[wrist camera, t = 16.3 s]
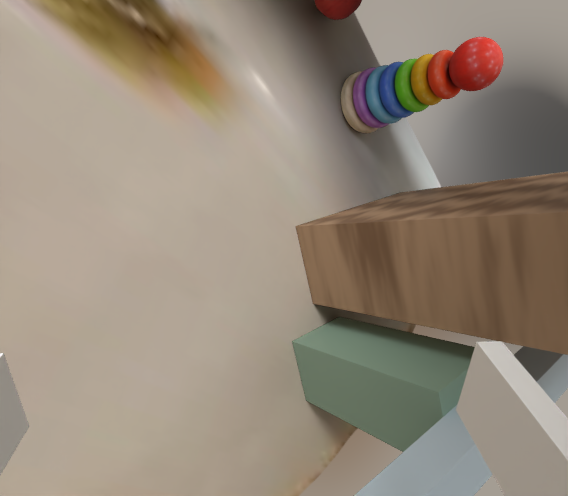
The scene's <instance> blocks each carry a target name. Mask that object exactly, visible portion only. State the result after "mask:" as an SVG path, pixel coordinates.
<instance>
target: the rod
mask: <svg viewBox="0 0 568 496" xmlns="http://www.w3.org/2000/svg"><path fill="white" fill-rule="evenodd" d="M514 356H515V358H516V359H517V360H518V361H519V362H520V363H521V365H522V366H523V367H524V368H525V369H526V370H527V372H528V373H529V374H530V375H531V376H532V377H533V379H534V380H535V381H536V382H537V383H538V384H539V386H540V387H541V388H542V389H543V390H544V391H545V393H546V394H547V395H548V396H549V397H550V398H551V400H552V401H553V402H554V403H555V402H556V401H557V400H558V399H559V398H560V396H561V395H562V394H563V393H564V392H565V391H566V390H567V388H568V355H565V354H560V353H556V352H551V351H546V350H541V349H536V348H531V347H526V346H523V347H522V348H521V349H520V350H519V351H518V352H517V353H515V354H514ZM457 405H458V404H457ZM457 405H456V406H455V407H454V408H453V409H452V410H451V411H449V412H448V413H447V414H446V415H445V416H444V417H443V418H441V419H440V420H439V421H438V422H437V423H436V424H435V425H434V426H432V427H431V428H430V429H429V430H428V431H427V432H426V433H424V434H423V435H422V436H421V437H420V438H419V439H418V440H416V441H415V442H414V443H413V444H412V445H411V446H410V447H409V448H407V449H406V450H405V451H404V452H403V453H402V454H401V455H399V456H398V457H397V458H396V459H395V460H394V461H393V462H392V463H390V464H389V465H388V466H387V467H386V468H385V469H384V470H382V471H381V472H380V473H379V474H378V475H377V476H376V477H375V478H373V479H372V480H371V481H370V482H369V483H368V484H367V485H365V486H364V487H363V488H362V489H361V490H360V491H359V492H357V493H356V494H355V495H354V496H474V495H475V494H476V493H477V492H478V490H479V489H480V488H481V487H482V486H483V485H484V483H485V482H486V481H487V480H488V479H489V478H490V477H491V475H492V473H491V471H490V469H489V467H488V466H487V464H486V462H485V460H484V459H483V457H482V455H481V453H480V452H479V450H478V448H477V446H476V445H475V443H474V441H473V439H472V437H471V436H470V434H469V432H468V430H467V429H466V427H465V425H464V423H463V422H462V420H461V418H460V416H459V415H458V413H457V411H456V408H457Z"/></svg>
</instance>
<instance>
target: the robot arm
mask: <svg viewBox="0 0 568 496" xmlns="http://www.w3.org/2000/svg"><path fill="white" fill-rule="evenodd" d="M456 411H457V413H458V415H459V416H460V418H461V420H462V422H463V423H464V425H465V427H466V429H467V430H468V432H469V434H470V436H471V437H472V439H473V441H474V443H475V445H476V446H477V448H478V450H479V452H480V453H481V455H482V457H483V459H484V460H485V462H486V464H487V466H488V467H489V469H490V471H491V473H492V475H493V476H494V478H495V480H496V481H497V483H498V485H499V487H500V489H501V490H502V492H503V494H504V496H568V418H567V417H566V416H565V415H564V414H563V413H562V411H561V410H560V409H559V408H558V407H557V405H556V404H555V403H554V402H553V401H552V400H551V398H550V397H549V396H548V395H547V394H546V393H545V391H544V390H543V389H542V388H541V387H540V386H539V384H538V383H537V382H536V381H535V380H534V379H533V377H532V376H531V375H530V374H529V373H528V372H527V370H526V369H525V368H524V367H523V366H522V365H521V363H520V362H519V361H518V360H517V359H516V358H515V356H514V355H513V354H512V353H511V352H510V351H509V349H508V348H507V347H506V346H505V345H504V344H503V342H502V341H493V342H492V341H491V342H476V345H475V348H474V352H473V355H472V358H471V362H470V365H469V368H468V372H467V375H466V378H465V381H464V385H463V388H462V391H461V395H460V398H459V401H458V405H457V408H456ZM28 428H29V423H28V421H27V418H26V415H25V412H24V409H23V407H22V404H21V401H20V398H19V395H18V392H17V390H16V387H15V384H14V381H13V378H12V375H11V373H10V370H9V367H8V364H7V361H6V359H5V356H4V353H0V475H1V473H2V471H3V470H4V468H5V466H6V465H7V463H8V461H9V460H10V458H11V456H12V455H13V453H14V451H15V450H16V448H17V446H18V444H19V443H20V441H21V439H22V438H23V436H24V434H25V433H26V431H27V429H28Z"/></svg>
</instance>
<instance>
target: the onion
mask: <svg viewBox="0 0 568 496" xmlns="http://www.w3.org/2000/svg"><path fill="white" fill-rule="evenodd" d="M361 1H362V0H315V4H316V7H317V9H318V10H319V11H320V12H322V13H323V14H324V15H325V16H326V17H328V18H330V19H334V20H339V19H344V18H347V17H348V16H349V15H351V14H352V13H353V12H354V11H355V10H356V9H357V8H358V7H359V5H360V3H361Z"/></svg>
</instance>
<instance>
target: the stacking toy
mask: <svg viewBox="0 0 568 496" xmlns="http://www.w3.org/2000/svg"><path fill="white" fill-rule="evenodd" d="M502 65H503V53H502V50H501V48H500V47H499V45H498V44H497V43H496V42H495V41H493V40H492V39H489V38H486V37H476V38H472V39H469V40H467V41H466V42H464V43H463V44H461V45H460V46H459V47H458V48H457V49H456V50H455V52H454V53H453V52H452V51H449V50H442V51H439V52H437V53H436V54H435V55H432V54H426V55H423V56H421V57H420V58H418V59H409V60H407V61H405V62H404V63H403V62H395V63H392V64H390V65H389V66H388V65H384V66H380V67H377V68H368V69H366V70H364V71H359V72H356V73H353V74H352V75H350V76H349V77H348V78H347V80H346V81H345V83H344V85H343V88H342V92H341V107H342V111H343V114H344V116H345V118H346V120H347V122H348V123H349V125H350V126H351V127H352V128H353V129H355V130H356V131H358V132H361V133H371V132H374V131H376V130H377V129H378V128H381V127H385V126H387V125H388V124H391V123H395V122H397V121H399V120H400V119H401V118H404V117H407V116H410V115H411V114H413V113H414V112H420V111H422V110H424V109H426V108H427V107H428V106H429V105H434V104H437V103H438V102H440V101H441V100H442V99H450V98H452V97H454V96H455V95H457V94H458V93H459V91H460V90H461V89H462V90H466V91H477V90H481V89H483V88H485V87H487V86H489V85H490V84H491V83H492V82H493V81H494V80H495V79H496V78H497V77H498V75H499V74H500V72H501V69H502Z"/></svg>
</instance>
